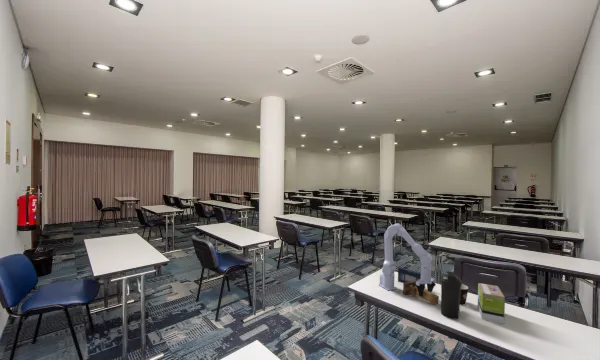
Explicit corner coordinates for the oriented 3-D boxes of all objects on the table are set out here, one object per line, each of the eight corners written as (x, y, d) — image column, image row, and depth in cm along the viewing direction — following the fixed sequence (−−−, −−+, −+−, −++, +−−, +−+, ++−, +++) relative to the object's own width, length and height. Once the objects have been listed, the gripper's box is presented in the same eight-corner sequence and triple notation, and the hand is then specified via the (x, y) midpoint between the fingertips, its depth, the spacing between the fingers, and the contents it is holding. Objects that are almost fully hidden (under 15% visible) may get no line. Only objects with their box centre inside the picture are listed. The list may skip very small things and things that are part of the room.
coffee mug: (463, 299, 163) (463, 283, 162) (470, 306, 154) (471, 289, 154) (443, 298, 164) (444, 282, 163) (450, 305, 155) (450, 288, 155)
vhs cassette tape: (397, 281, 188) (398, 267, 188) (399, 280, 190) (399, 266, 190) (423, 290, 175) (424, 275, 174) (425, 288, 177) (425, 274, 176)
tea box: (476, 306, 154) (477, 282, 153) (497, 311, 149) (498, 285, 149) (481, 319, 140) (482, 292, 140) (504, 324, 136) (506, 296, 135)
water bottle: (459, 312, 146) (460, 272, 146) (461, 322, 137) (463, 279, 137) (438, 308, 151) (440, 269, 150) (440, 317, 141) (441, 275, 141)
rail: (412, 293, 169) (413, 286, 169) (416, 292, 170) (416, 285, 170) (435, 305, 154) (435, 297, 154) (438, 304, 156) (438, 296, 156)
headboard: (403, 293, 169) (403, 283, 168) (419, 289, 175) (419, 279, 175) (409, 297, 164) (409, 286, 164) (425, 292, 171) (426, 282, 170)
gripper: (423, 277, 155) (422, 300, 156) (439, 273, 161) (438, 295, 162) (413, 273, 162) (412, 294, 162) (429, 270, 168) (428, 290, 168)
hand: (425, 294), depth 162 cm, fingers open, 7 cm apart
